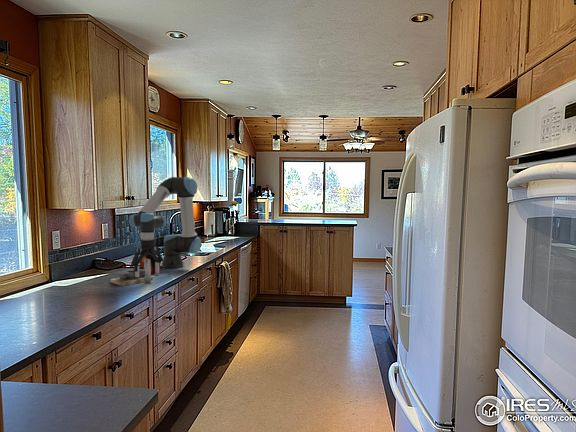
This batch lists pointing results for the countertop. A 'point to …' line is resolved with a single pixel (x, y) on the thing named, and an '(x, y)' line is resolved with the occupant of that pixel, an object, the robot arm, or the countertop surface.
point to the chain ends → (129, 277)
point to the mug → (151, 263)
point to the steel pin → (147, 271)
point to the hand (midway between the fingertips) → (147, 275)
